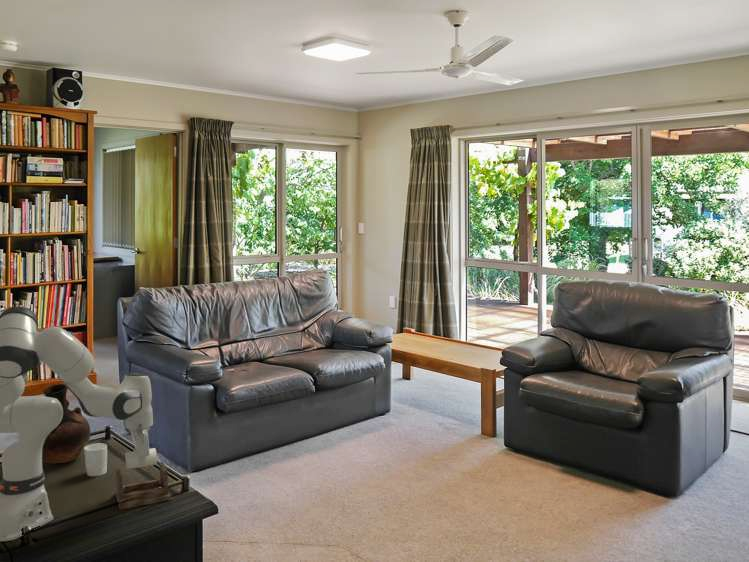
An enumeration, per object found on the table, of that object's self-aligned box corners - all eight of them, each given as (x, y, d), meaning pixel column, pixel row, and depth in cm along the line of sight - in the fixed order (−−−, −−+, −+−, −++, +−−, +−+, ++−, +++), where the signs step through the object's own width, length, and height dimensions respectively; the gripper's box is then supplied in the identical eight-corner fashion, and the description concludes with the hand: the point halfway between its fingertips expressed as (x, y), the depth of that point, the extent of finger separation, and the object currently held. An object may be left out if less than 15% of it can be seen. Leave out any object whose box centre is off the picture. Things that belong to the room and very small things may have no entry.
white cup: (112, 469, 255) (110, 443, 254) (101, 477, 248) (100, 450, 247) (92, 468, 256) (90, 442, 255) (81, 477, 248) (79, 450, 247)
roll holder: (119, 509, 221) (117, 481, 220) (115, 494, 233) (114, 467, 232) (170, 500, 228) (169, 472, 227) (164, 485, 240) (163, 459, 239)
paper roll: (126, 472, 225) (125, 455, 224) (125, 466, 230) (124, 450, 229) (157, 466, 229) (157, 451, 228) (155, 461, 234) (154, 445, 233)
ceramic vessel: (84, 448, 277) (80, 376, 274) (98, 461, 264) (94, 384, 261) (27, 461, 264) (22, 385, 261) (39, 475, 251) (34, 395, 247)
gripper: (153, 428, 219) (155, 470, 221) (145, 410, 238) (147, 449, 239) (132, 431, 217) (134, 473, 218) (126, 413, 235) (128, 452, 237)
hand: (141, 460), depth 229 cm, fingers closed on paper roll, 5 cm apart
